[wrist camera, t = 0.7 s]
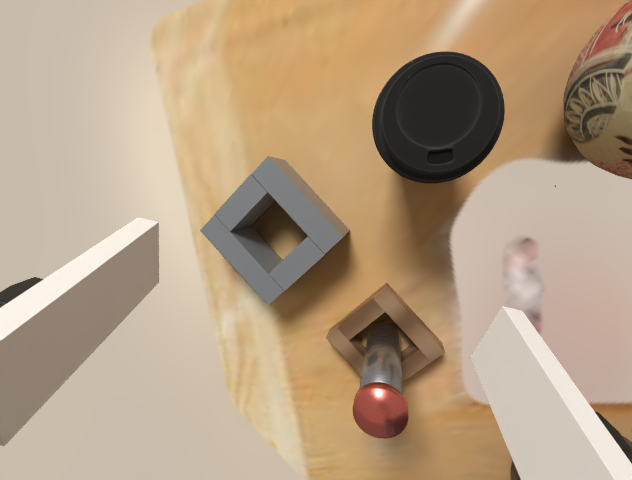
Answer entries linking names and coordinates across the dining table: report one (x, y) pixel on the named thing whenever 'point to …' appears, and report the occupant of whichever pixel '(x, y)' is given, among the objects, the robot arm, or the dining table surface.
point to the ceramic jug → (603, 96)
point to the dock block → (251, 249)
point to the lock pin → (381, 384)
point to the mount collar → (403, 316)
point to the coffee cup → (438, 117)
